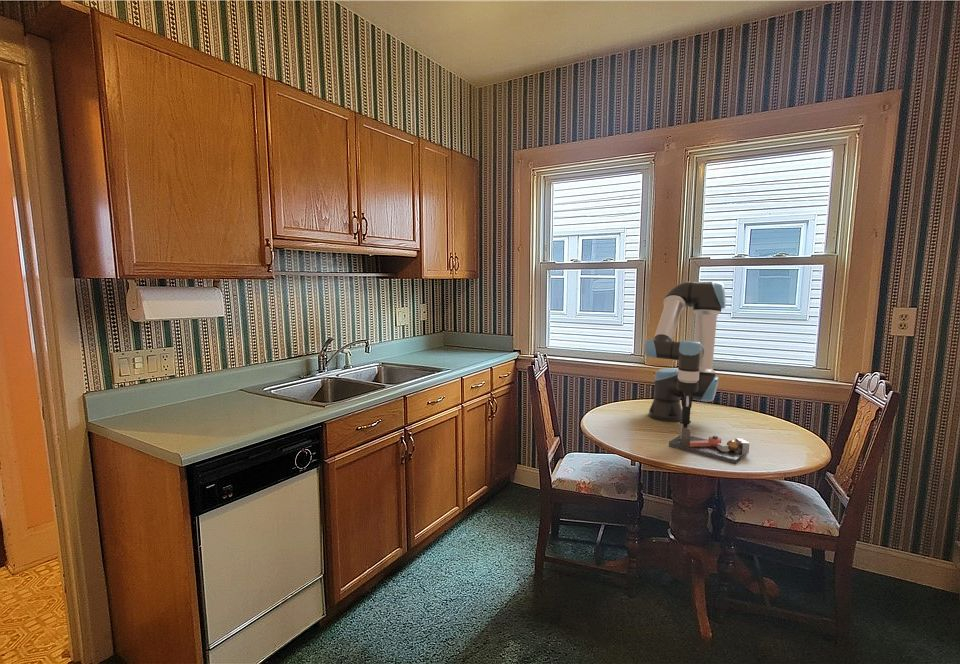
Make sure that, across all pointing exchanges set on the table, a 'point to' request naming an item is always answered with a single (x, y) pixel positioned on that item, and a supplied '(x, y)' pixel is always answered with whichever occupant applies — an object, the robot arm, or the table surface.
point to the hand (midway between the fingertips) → (684, 439)
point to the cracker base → (716, 449)
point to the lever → (712, 441)
